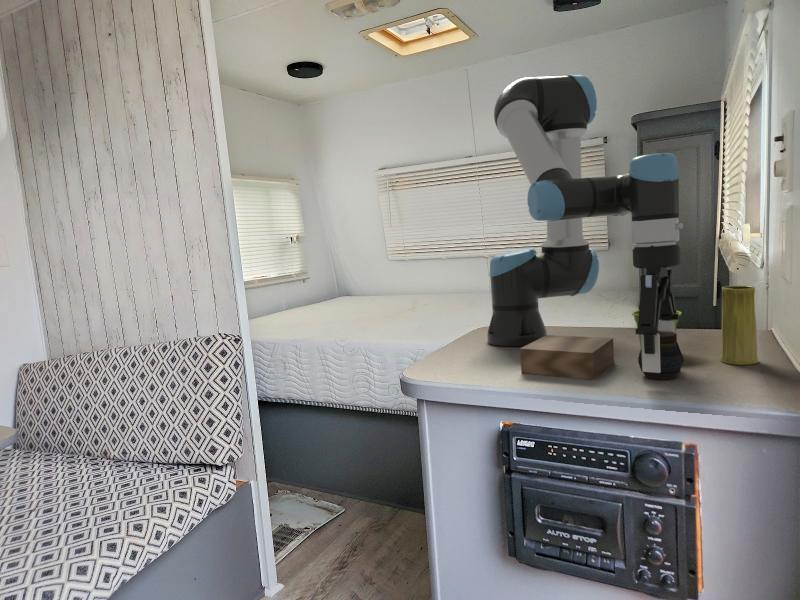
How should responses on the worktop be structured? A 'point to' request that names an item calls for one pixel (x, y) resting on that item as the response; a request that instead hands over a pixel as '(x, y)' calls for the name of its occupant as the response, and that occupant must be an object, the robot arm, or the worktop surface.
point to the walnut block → (567, 356)
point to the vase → (738, 326)
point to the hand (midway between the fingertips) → (659, 362)
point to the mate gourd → (666, 357)
